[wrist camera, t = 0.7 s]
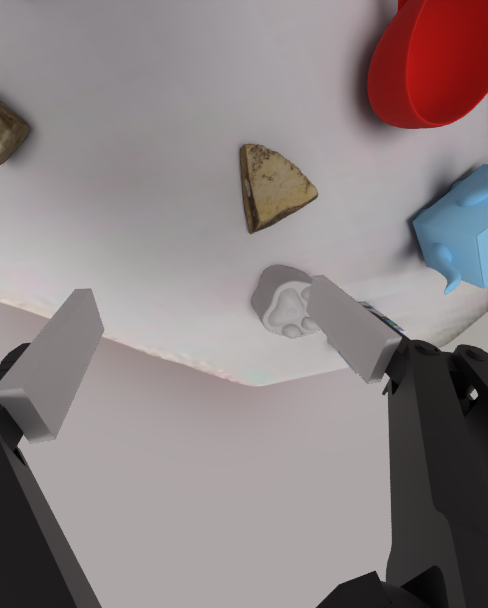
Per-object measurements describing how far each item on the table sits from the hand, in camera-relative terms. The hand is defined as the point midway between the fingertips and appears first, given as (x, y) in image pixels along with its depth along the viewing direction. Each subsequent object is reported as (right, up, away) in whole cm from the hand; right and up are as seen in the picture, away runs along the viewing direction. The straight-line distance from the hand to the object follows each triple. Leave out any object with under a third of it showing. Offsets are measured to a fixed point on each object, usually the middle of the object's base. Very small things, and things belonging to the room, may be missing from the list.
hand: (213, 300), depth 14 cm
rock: (+2, +21, +20) cm, 29 cm away
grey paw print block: (+10, +2, +31) cm, 33 cm away
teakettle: (+40, +16, +31) cm, 53 cm away
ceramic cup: (+21, +32, +17) cm, 42 cm away
